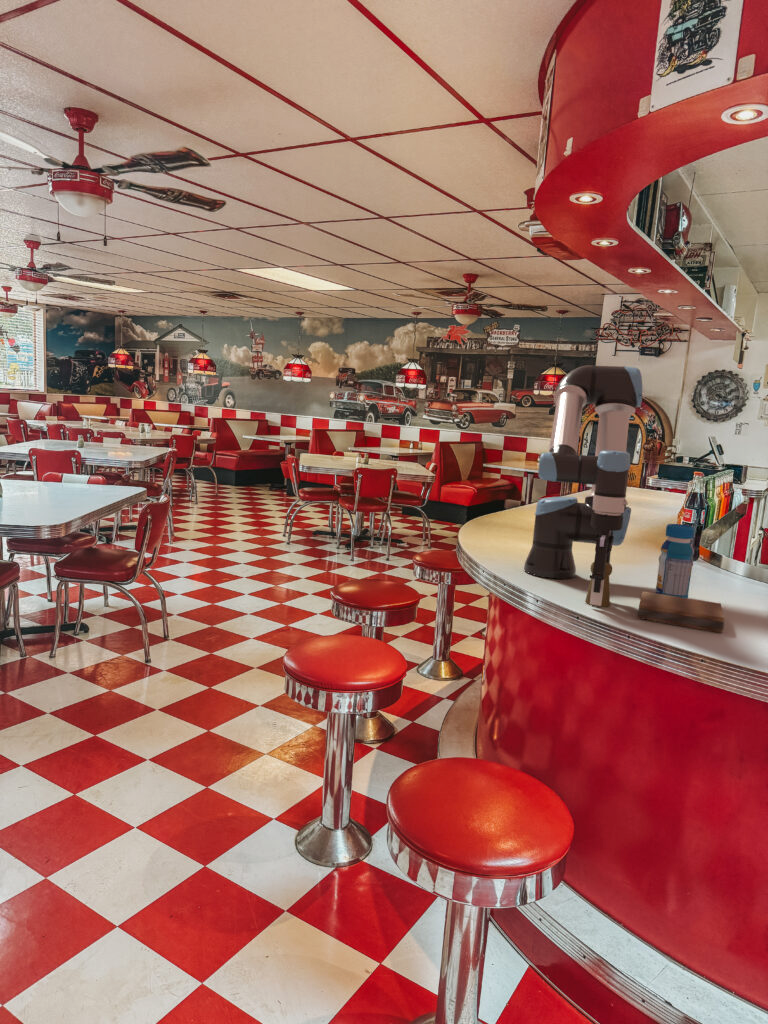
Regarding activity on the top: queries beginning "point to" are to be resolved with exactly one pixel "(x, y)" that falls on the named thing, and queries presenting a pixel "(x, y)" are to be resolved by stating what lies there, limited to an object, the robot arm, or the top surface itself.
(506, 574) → the top surface
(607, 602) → the cork
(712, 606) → the wooden block
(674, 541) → the beverage bottle
